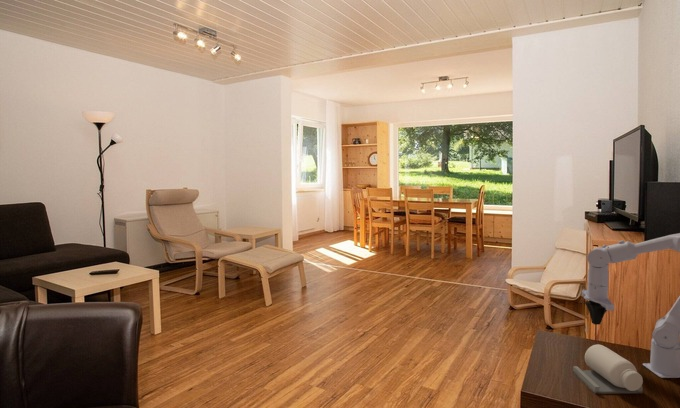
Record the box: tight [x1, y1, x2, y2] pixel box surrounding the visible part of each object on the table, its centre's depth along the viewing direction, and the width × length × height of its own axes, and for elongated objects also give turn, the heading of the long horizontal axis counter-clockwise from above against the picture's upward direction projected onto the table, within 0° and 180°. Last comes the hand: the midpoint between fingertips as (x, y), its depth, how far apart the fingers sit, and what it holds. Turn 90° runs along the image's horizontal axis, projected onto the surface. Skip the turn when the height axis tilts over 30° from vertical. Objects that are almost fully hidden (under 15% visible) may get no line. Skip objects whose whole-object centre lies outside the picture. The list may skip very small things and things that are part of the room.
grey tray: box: [572, 365, 643, 395], centre depth 121 cm, size 13×12×2 cm
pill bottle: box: [584, 343, 644, 391], centre depth 120 cm, size 8×8×15 cm
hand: (596, 323), depth 137 cm, fingers closed
